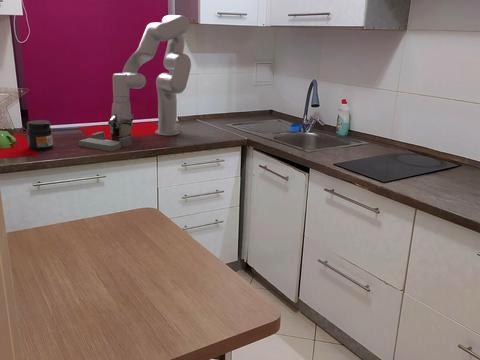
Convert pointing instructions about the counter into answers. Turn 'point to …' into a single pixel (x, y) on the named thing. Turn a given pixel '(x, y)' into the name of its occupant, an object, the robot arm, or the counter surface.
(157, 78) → the robot arm
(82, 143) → the grey piece
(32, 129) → the supplement container
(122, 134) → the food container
